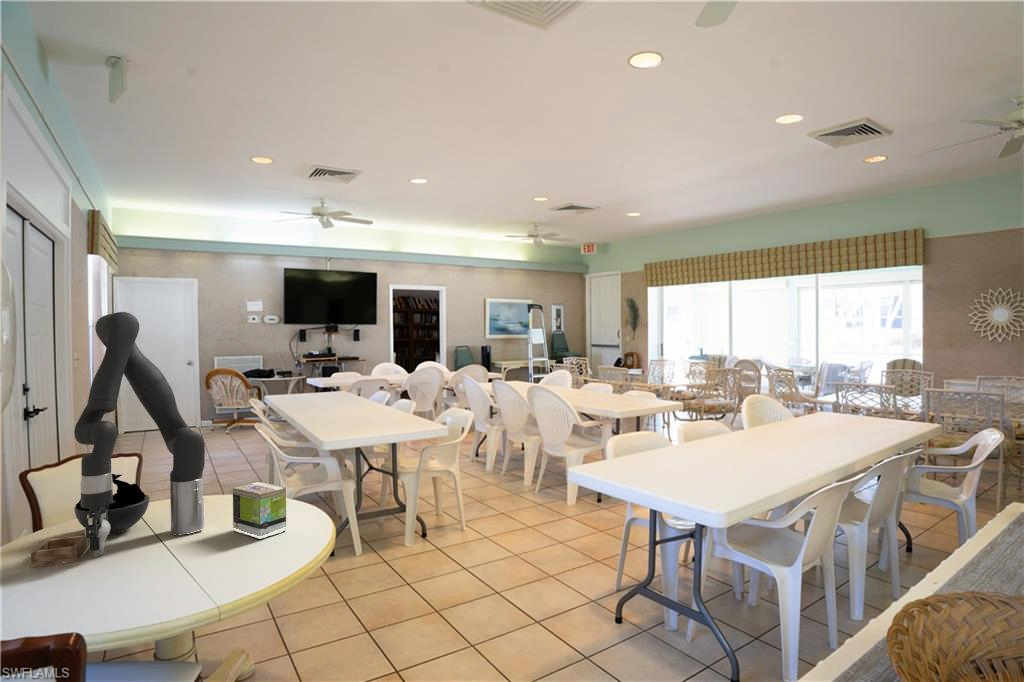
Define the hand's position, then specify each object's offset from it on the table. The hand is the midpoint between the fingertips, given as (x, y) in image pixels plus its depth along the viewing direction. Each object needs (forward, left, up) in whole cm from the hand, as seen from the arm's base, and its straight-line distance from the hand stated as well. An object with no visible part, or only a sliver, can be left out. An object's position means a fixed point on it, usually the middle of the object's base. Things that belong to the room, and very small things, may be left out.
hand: (97, 546), depth 165 cm
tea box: (-43, -4, -3) cm, 43 cm away
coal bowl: (+1, -22, -3) cm, 22 cm away
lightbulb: (0, 0, -3) cm, 3 cm away
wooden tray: (+10, -4, -3) cm, 11 cm away
